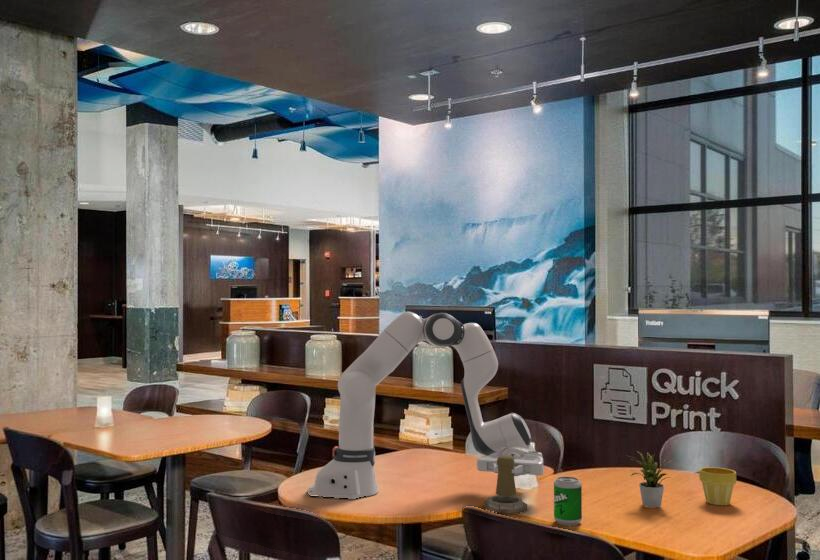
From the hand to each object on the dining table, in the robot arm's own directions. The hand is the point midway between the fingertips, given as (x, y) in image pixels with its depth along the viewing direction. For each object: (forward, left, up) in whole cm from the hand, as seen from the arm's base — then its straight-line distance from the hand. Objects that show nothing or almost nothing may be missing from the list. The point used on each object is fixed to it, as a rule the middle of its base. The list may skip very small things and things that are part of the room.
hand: (504, 470), depth 224 cm
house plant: (+43, +6, -11) cm, 45 cm away
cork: (0, +1, -7) cm, 7 cm away
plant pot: (+65, +9, -11) cm, 67 cm away
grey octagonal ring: (0, +1, -11) cm, 11 cm away
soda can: (+16, -13, -11) cm, 24 cm away
